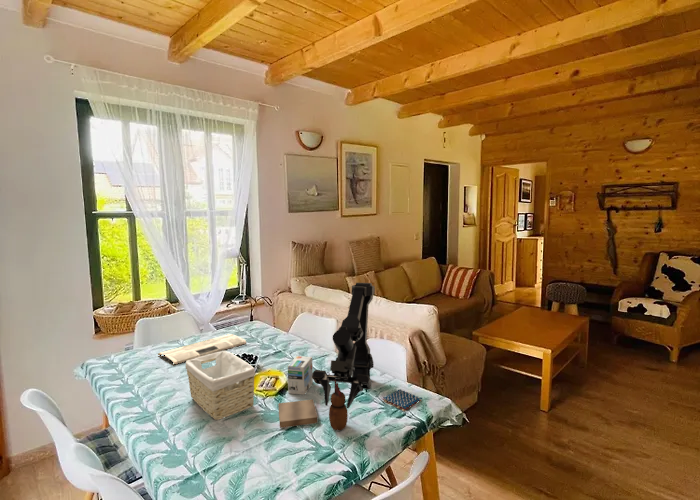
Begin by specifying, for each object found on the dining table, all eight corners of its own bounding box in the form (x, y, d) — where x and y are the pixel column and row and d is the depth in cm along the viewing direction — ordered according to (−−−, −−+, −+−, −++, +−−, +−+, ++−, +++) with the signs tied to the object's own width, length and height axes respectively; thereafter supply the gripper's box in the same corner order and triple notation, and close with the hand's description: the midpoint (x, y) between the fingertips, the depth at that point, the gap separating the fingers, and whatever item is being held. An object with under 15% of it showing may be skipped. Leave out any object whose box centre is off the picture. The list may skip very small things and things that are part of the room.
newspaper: (173, 366, 173) (173, 360, 173) (156, 355, 186) (156, 350, 186) (246, 344, 200) (246, 339, 200) (226, 336, 213) (226, 331, 213)
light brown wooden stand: (313, 404, 137) (313, 399, 137) (317, 422, 126) (317, 417, 125) (278, 408, 135) (278, 403, 134) (279, 427, 123) (279, 421, 123)
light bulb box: (304, 395, 144) (304, 367, 143) (287, 393, 146) (286, 366, 144) (313, 382, 155) (312, 356, 154) (297, 381, 156) (296, 355, 155)
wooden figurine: (329, 422, 126) (328, 377, 124) (346, 421, 126) (346, 376, 125) (329, 434, 119) (328, 387, 118) (348, 432, 120) (347, 386, 118)
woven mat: (399, 392, 146) (399, 387, 146) (422, 402, 139) (422, 397, 139) (380, 402, 139) (380, 397, 139) (404, 413, 132) (404, 407, 131)
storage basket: (258, 407, 136) (257, 366, 134) (213, 425, 125) (211, 381, 124) (227, 385, 154) (226, 348, 152) (185, 399, 143) (183, 360, 141)
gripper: (313, 345, 126) (301, 394, 117) (369, 350, 122) (362, 401, 112) (321, 360, 135) (311, 406, 125) (374, 365, 130) (367, 413, 121)
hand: (336, 406), depth 121 cm, fingers open, 7 cm apart
